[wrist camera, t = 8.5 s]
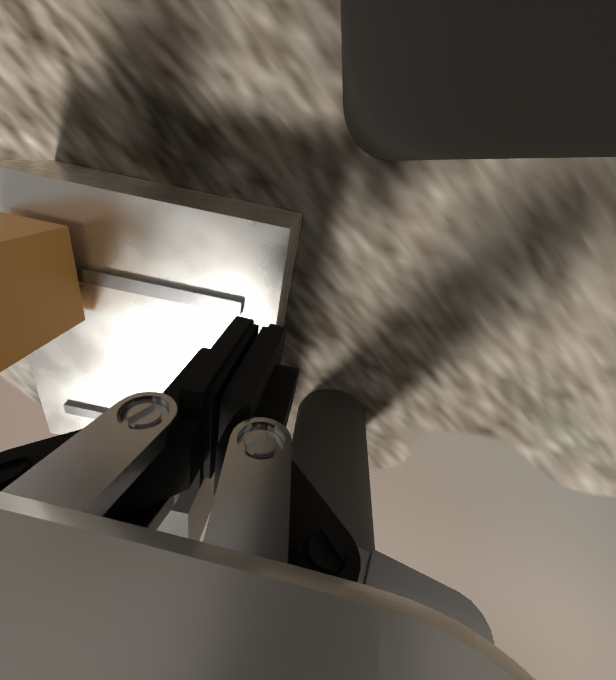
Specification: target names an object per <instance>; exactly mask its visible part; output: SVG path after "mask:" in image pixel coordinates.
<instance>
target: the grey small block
mask: <svg viewBox="0 0 616 680" xmlns="http://www.w3.org/2000/svg"><path fill="white" fill-rule="evenodd" d="M214 478H215V472H214V474H213V476H212V478H211V479H208V478H205V479H204V481H203V483H202V485H201V487H200V489H196V488H192V487H190V489H188V490H185V491H183V492H181V493H179V496H178V499H177V501H176V503H175V505H174V507H173V508H172V509H171V511H170V512H169V513H168V515H167V516H166V518H165V519H164V520H163V522H162V523H161V525H160V526H159V527H158V529H157V531H161V532H165V533H169V534H173V535H177V536H181V537H185V538H189V539H193V540H197V541H199V540H200V537H201V535H202V532H203V529H204V527H205V524H206V521H207V519H208V516H209V514H210V511H211V509H212V505H213V501H214V497H215V496H214Z"/></svg>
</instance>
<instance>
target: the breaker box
mask: <svg viewBox="0 0 616 680" xmlns="http://www.w3.org/2000/svg"><path fill="white" fill-rule="evenodd" d="M0 212H4V213H9V214H13V215H18V216H23V217H28V218H32V219H37V220H42V221H46V222H51V223H56V224H61V225H65V226H68V228H69V234H70V239H71V244H72V250H73V255H74V261H75V266H76V271H77V277H78V282H79V288H80V293H81V298H82V304H83V309H84V315H85V320H84V321H83V322H81V323H80V324H78V325H76V326H75V327H73V328H71V329H70V330H68V331H67V332H65V333H63V334H62V335H60V336H58V337H57V338H55V339H53V340H52V341H50V342H49V343H47V344H45V345H44V346H42V347H40V348H39V349H37V350H35V351H34V352H32V353H31V354H29V355H27V358H28V361H29V364H30V367H31V371H32V374H33V377H34V380H35V384H36V387H37V390H38V393H39V397H40V400H41V403H42V406H43V410H44V413H45V416H46V419H47V422H48V426H49V429H50V432H51V433H55V434H59V435H62V434H65V433H69V432H72V431H76V430H79V429H83V428H84V427H86V426H87V425H88V424H90V423H91V422H92V421H93V420H95V419H96V418H97V417H99V416H100V415H101V414H103V413H104V412H105V411H107V410H108V409H109V408H110V407H112V406H113V405H114V404H116V403H117V402H118V401H120V400H122V399H123V398H125V397H127V396H130V395H132V394H135V393H140V392H159V393H163V391H164V390H165V389H166V388H167V387H168V386H169V384H170V383H171V382H172V381H173V380H174V379H175V377H176V376H177V375H178V374H179V373H180V372H181V370H182V369H183V368H184V367H185V366H186V365H187V363H188V362H189V361H190V360H191V359H192V358H193V356H194V355H195V354H196V353H197V352H198V351H199V349H201V348H202V347H205V348H211V347H212V346H213V344H214V343H215V342H216V341H217V339H218V338H219V337H220V336H221V334H222V333H223V332H224V331H225V329H226V328H227V327H228V326H229V324H230V323H231V322H232V321H233V319H234V318H235V317H236V316H241V317H245V318H250V319H253V320H254V324H257V325H259V332H260V330H261V328H262V327H263V326H265V327H268V326H269V324H270V323H271V324H276V325H280V326H284V324H285V318H286V312H287V306H288V300H289V294H290V288H291V282H292V276H293V270H294V264H295V258H296V252H297V246H298V240H299V234H300V228H301V222H302V216H303V213H299V212H295V211H290V210H285V209H280V208H276V207H271V206H266V205H262V204H257V203H252V202H247V201H243V200H238V199H233V198H229V197H224V196H219V195H214V194H210V193H205V192H200V191H196V190H191V189H186V188H181V187H177V186H172V185H167V184H163V183H158V182H153V181H148V180H144V179H139V178H134V177H130V176H125V175H120V174H116V173H111V172H106V171H101V170H97V169H92V168H87V167H83V166H78V165H73V164H68V163H64V162H59V161H54V160H0ZM259 332H258V334H259Z"/></svg>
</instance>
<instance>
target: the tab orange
mask: <svg viewBox="0 0 616 680" xmlns="http://www.w3.org/2000/svg"><path fill="white" fill-rule="evenodd" d="M84 320H85V315H84V309H83V304H82V298H81V293H80V288H79V282H78V277H77V271H76V266H75V261H74V255H73V250H72V244H71V239H70V234H69V228H68V226H65V225H61V224H56V223H51V222H46V221H42V220H37V219H32V218H28V217H23V216H18V215H13V214H9V213H4V212H0V372H1V371H3V370H4V369H6V368H8V367H9V366H11V365H13V364H14V363H16V362H17V361H19V360H21V359H22V358H24V357H26V356H27V355H29V354H31V353H32V352H34V351H35V350H37V349H39V348H40V347H42V346H44V345H45V344H47V343H49V342H50V341H52V340H53V339H55V338H57V337H58V336H60V335H62V334H63V333H65V332H67V331H68V330H70V329H71V328H73V327H75V326H76V325H78V324H80V323H81V322H83V321H84Z"/></svg>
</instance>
